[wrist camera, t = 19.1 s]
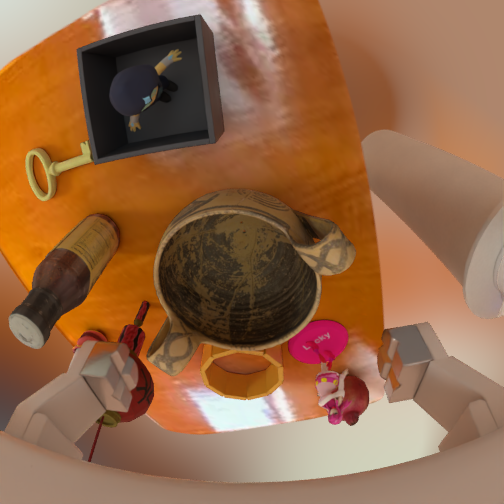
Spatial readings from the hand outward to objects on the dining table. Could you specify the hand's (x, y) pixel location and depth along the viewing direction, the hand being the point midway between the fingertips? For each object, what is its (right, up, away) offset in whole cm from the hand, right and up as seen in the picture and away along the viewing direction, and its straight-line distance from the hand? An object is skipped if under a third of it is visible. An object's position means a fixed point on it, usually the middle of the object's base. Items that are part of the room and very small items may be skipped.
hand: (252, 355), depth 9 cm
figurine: (+10, -11, +38) cm, 41 cm away
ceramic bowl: (-1, +5, +30) cm, 30 cm away
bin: (-9, +21, +21) cm, 31 cm away
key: (-25, +14, +24) cm, 37 cm away
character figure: (-9, +20, +20) cm, 30 cm away
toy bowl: (-1, -13, +39) cm, 41 cm away
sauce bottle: (-20, +6, +29) cm, 35 cm away
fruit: (+16, -20, +43) cm, 50 cm away
